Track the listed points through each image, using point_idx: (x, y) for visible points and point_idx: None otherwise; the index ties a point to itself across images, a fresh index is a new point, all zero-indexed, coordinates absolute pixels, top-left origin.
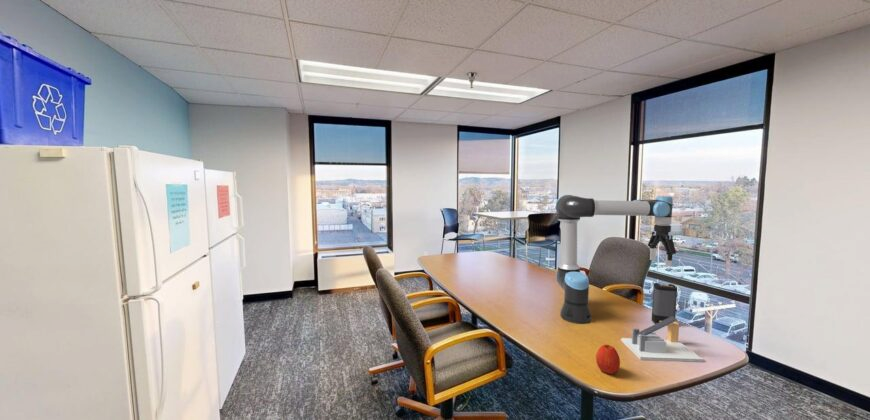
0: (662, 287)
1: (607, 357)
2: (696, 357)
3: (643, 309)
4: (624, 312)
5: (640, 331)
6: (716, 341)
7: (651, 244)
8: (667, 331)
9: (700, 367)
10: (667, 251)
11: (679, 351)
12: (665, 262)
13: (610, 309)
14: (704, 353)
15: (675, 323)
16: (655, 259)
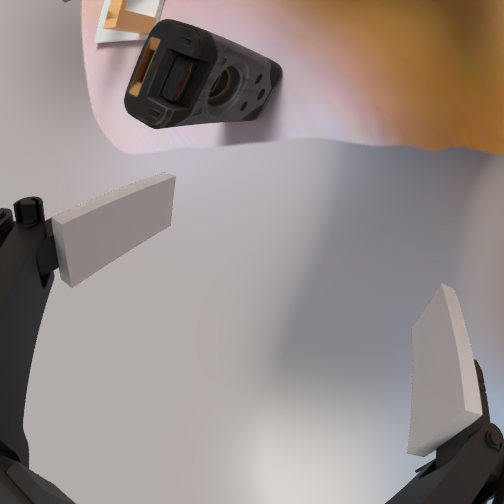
0: (145, 42)
1: None
2: (98, 34)
3: (381, 127)
4: (368, 28)
5: None
6: (144, 141)
7: (469, 494)
8: (141, 14)
9: (91, 29)
10: (17, 238)
11: None
12: (148, 185)
13: (405, 4)
14: (114, 68)
15: (107, 21)
16: (411, 331)
